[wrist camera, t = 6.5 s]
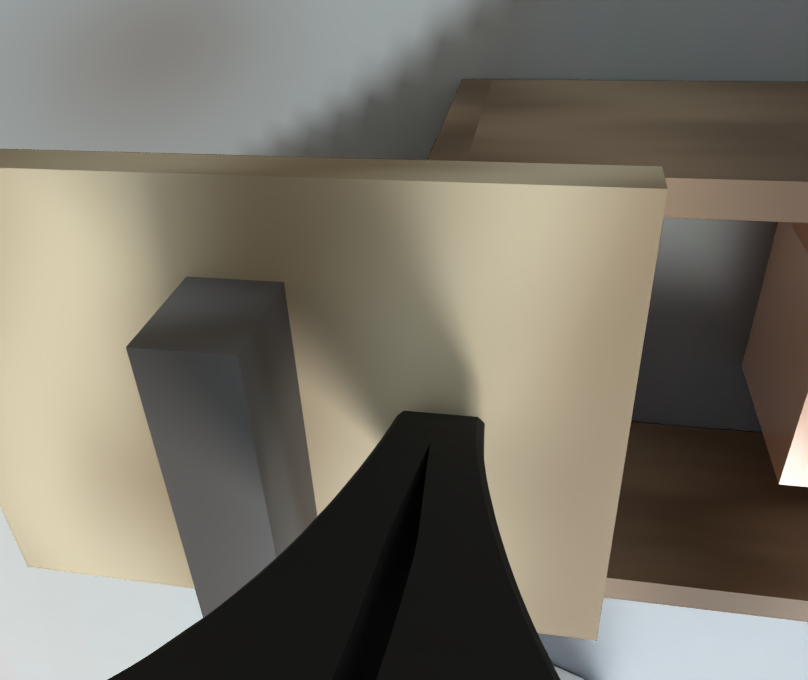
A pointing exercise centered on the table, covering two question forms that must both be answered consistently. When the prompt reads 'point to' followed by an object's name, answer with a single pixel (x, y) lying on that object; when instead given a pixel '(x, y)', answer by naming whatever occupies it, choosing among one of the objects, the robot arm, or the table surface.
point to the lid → (313, 353)
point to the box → (686, 198)
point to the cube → (782, 355)
